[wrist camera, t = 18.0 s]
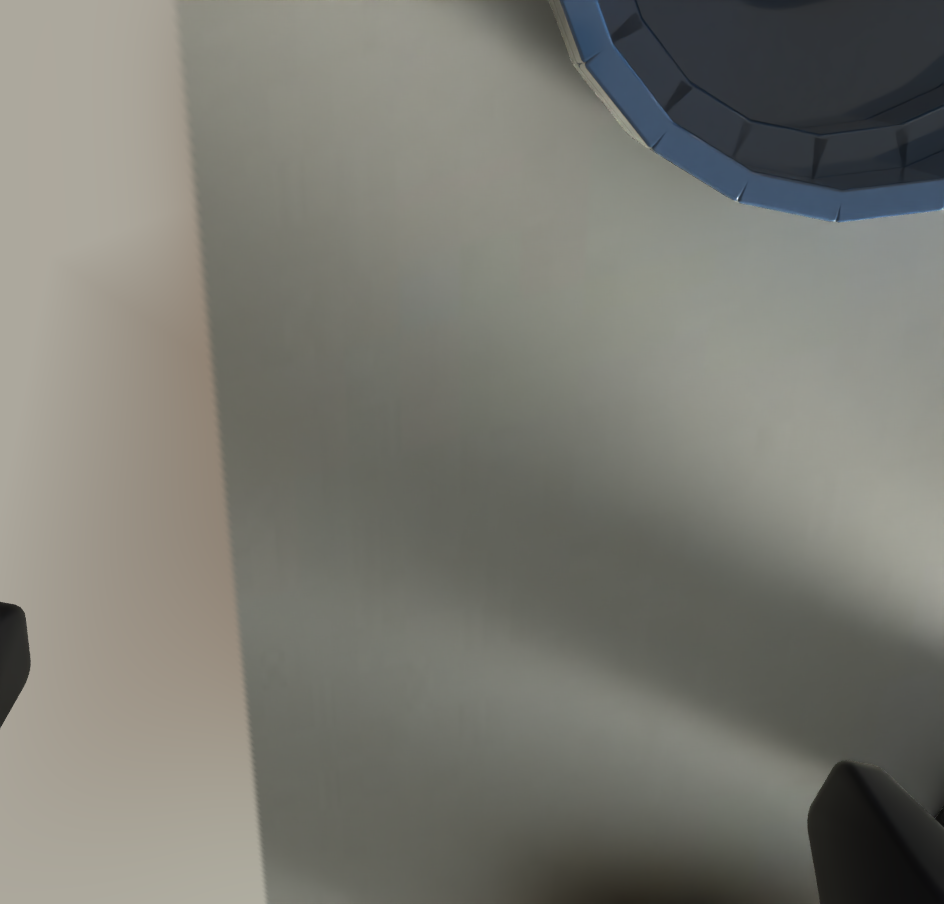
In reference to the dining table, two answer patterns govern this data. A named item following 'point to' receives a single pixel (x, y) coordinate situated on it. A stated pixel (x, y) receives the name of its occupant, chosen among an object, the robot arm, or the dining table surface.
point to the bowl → (777, 96)
